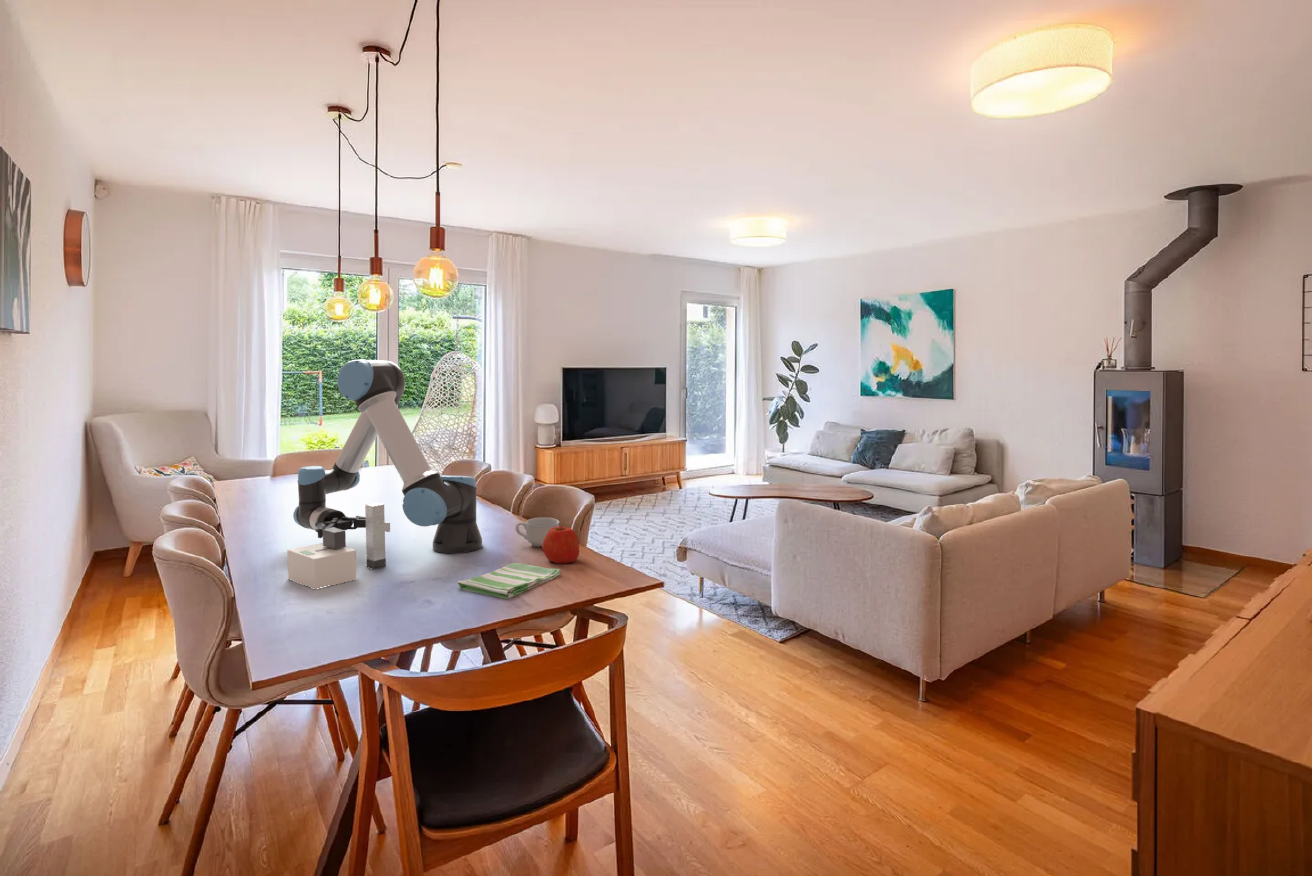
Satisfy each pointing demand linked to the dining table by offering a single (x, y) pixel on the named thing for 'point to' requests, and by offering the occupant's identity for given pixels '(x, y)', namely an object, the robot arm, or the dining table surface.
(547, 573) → the dish towel
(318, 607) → the dining table surface
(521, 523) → the teacup
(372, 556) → the white tall square post
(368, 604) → the dining table surface
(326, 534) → the knob
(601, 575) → the dining table surface
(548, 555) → the apple
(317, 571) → the bevelled white plinth
